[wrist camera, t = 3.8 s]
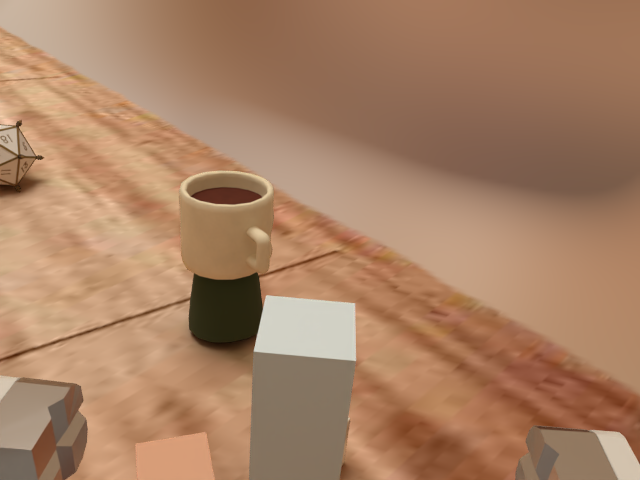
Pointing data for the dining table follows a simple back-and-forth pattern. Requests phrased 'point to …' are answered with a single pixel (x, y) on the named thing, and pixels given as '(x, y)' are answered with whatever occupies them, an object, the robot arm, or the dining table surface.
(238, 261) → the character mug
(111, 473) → the dining table surface
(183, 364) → the dining table surface
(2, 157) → the game die
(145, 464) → the terracotta cube
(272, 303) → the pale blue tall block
